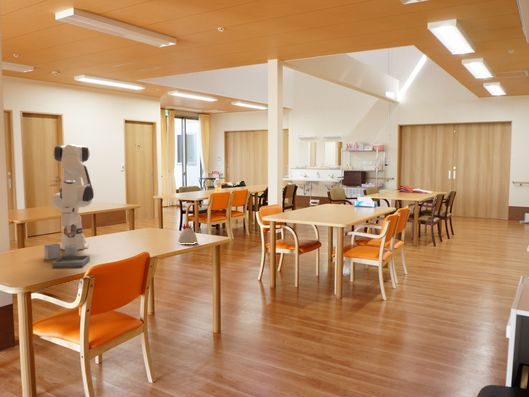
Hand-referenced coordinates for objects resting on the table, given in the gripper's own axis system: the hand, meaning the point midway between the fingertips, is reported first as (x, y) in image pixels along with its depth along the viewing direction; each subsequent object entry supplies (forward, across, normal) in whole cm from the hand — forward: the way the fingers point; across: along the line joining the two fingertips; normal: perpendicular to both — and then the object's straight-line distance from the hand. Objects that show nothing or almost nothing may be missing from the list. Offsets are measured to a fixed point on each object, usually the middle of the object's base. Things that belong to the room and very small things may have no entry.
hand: (70, 231), depth 267 cm
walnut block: (+2, 0, 0) cm, 2 cm away
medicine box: (+19, -17, -16) cm, 30 cm away
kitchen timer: (+19, -62, +65) cm, 92 cm away
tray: (+19, 0, 0) cm, 19 cm away
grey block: (+19, -13, -4) cm, 23 cm away
